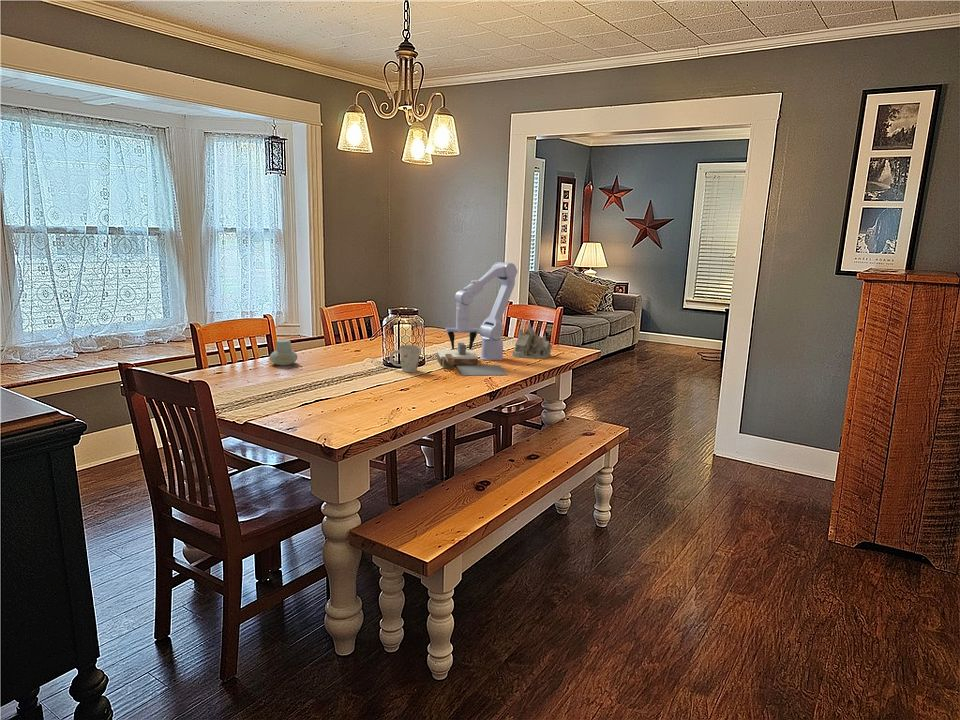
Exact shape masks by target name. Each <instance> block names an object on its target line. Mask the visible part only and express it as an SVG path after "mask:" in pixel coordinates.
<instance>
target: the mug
mask: <svg viewBox="0 0 960 720" xmlns="http://www.w3.org/2000/svg"><path fill="white" fill-rule="evenodd" d="M420 353H421V346H420V345H415V344H414V345H413V344H404V345H403V344H402V345H400V346H399V349H395V350H393V351H391V353H390V354H389V362H390V363H391V364H392V365H393V366H395V367H401V371H402V372H404V373H416V372H417V371H418V366H419V360H420V359H419V358H420ZM395 354H400V362H401V363H399V364H397V363H396V362H395V361H394V359H393V358H394V355H395Z"/></svg>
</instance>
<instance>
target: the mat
mask: <svg viewBox="0 0 960 720" xmlns="http://www.w3.org/2000/svg"><path fill="white" fill-rule="evenodd" d="M455 367H456V368H457V370H458V371H459V373H460V375H461V376H463V377H465V376H468V377H469V376H473V377H474V376H475V377H476V376H477V377H478V376H481V377H482V376H509V374H508V372H506V370H504V369H503V367H502V366H501V365H500V364H498V365H497V364H486V365H485V364H483V365H481V364H478V365H456V366H455Z"/></svg>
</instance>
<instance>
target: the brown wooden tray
mask: <svg viewBox="0 0 960 720" xmlns="http://www.w3.org/2000/svg"><path fill="white" fill-rule="evenodd" d="M436 360H437V362H438V363H439V365H440V366H441V367H442V369H443V370H454V367H456V365H479V364H478V363H479V361H478V360H479V358H478V359H454V363H448V362H447V361H446V359H445V357H442V359H441V358H440V356H439V355H438V353H437V352H436Z"/></svg>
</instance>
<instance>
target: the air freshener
mask: <svg viewBox="0 0 960 720" xmlns="http://www.w3.org/2000/svg"><path fill="white" fill-rule="evenodd" d="M269 360H270V362H271V363H273V364H275V365H277V366H280V367H281V366H282V367H288V366H290V365H292V364H295V363H296V361H297V360H298V355H297V353H296V351H294V350H292V342H291V340H289V339H277V340H275V350H274V351H272V352H271V354H269Z"/></svg>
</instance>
